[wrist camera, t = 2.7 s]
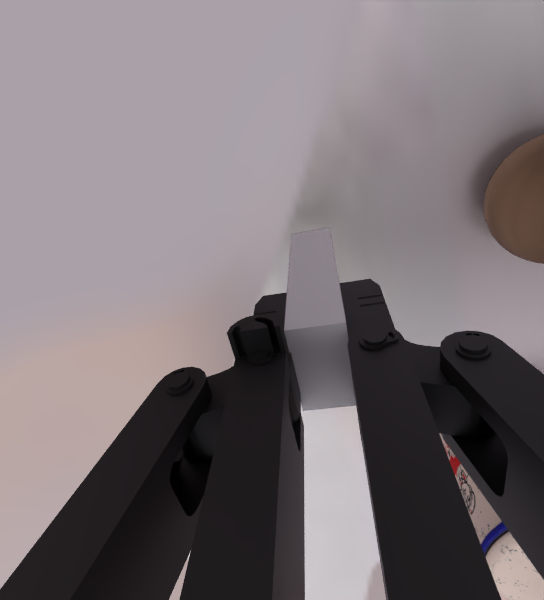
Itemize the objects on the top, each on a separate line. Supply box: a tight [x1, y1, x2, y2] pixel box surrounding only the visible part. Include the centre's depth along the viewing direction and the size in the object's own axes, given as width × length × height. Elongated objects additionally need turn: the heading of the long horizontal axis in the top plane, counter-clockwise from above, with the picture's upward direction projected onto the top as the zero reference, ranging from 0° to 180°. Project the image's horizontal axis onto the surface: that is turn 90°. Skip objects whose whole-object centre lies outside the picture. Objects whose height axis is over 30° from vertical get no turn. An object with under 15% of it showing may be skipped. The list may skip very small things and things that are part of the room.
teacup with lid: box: [439, 433, 544, 600], centre depth 22 cm, size 12×9×12 cm
